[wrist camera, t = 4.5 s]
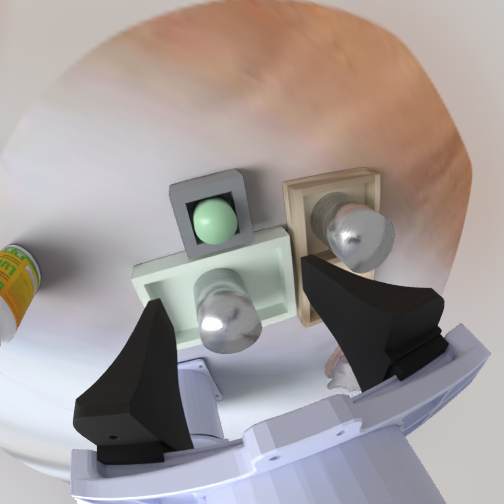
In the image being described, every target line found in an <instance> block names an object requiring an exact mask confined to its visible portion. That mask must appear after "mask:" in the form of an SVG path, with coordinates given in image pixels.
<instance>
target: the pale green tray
mask: <svg viewBox="0 0 504 504" xmlns="http://www.w3.org/2000/svg"><path fill="white" fill-rule="evenodd" d="M253 235H254V241H252V242H248V243H245V244H241V245H237V246H234V247H230V248H227V249H223V250H219V251H216V252H212V253H208V254H205V255H201V256H198V257H194V258H190V259H188V257H187V253H186V251H184V252H181V253H177V254H174V255H170V256H166V257H163V258H159V259H156V260H153V261H149V262H146V263H142V264H139V265H135V266H133V271H132V276H131V281H132V283H133V285H134V287H135V289H136V291H137V293H138V295H139V297H140V300H141V302H142V303H143V305H144V307H146V305H147V303H148V301H150V300H154V299H157V298H160V299H161V301H162V303H163V306H164V308H165V310H166V312H167V314H168V316H169V318H170V320H171V322H172V324H173V326H174V331H175V337H176V343H177V350H180V349H184V348H188V347H192V346H196V345H200V344H202V342H201V339H200V333H199V327H198V321H197V314H196V308H195V301H194V294H193V288H194V285H195V282H196V281H197V279H198V278H199V277H200V276H201V275H202V274H203V273H205V272H207V271H209V270H211V269H215V268H228V269H231V270H234V271H235V272H237V273H238V274H239V275H240V276H241V277H242V279H243V281H244V283H245V286H246V288H247V291H248V293H249V295H250V298H251V300H252V302H253V305H254V307H255V309H256V312H257V314H258V316H259V319H260V321H261V324H262V327H263V326H266V325H269V324H272V323H275V322H278V321H282V320H285V319H288V318H291V317H294V316H296V315H297V313H296V301H295V288H294V277H293V266H292V256H291V246H290V236H289V234H288V233H287V232H286V231H285V230H284V229H283V227H282V226H281V225H280V226H276V227H272V228H269V229H265V230H261V231H257V232H254V233H253Z"/></svg>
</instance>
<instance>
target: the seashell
mask: <svg viewBox="0 0 504 504" xmlns="http://www.w3.org/2000/svg"><path fill="white" fill-rule="evenodd" d="M325 374H326V376H327V377H328V378H333V379H332V380H331V381H330V382H329V384H328V386H327V387H328V389H332V388H335V387H341V388H345V389H348V390H349V391H350V392H352V391H354V390H361V389H360V387H359V384H358V382H357V380H356V378H355V375H354V373H353V371H352V369H351V367H350V365H349V363H348V361H347V359H346V357H345V355H344V353H343V351H342V350H341V348H340V346H338V347H337V349H336V350H335V352H334V353H333V355H332V356H331V357H330V359H329V360H328V362H327V364H326V366H325Z"/></svg>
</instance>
